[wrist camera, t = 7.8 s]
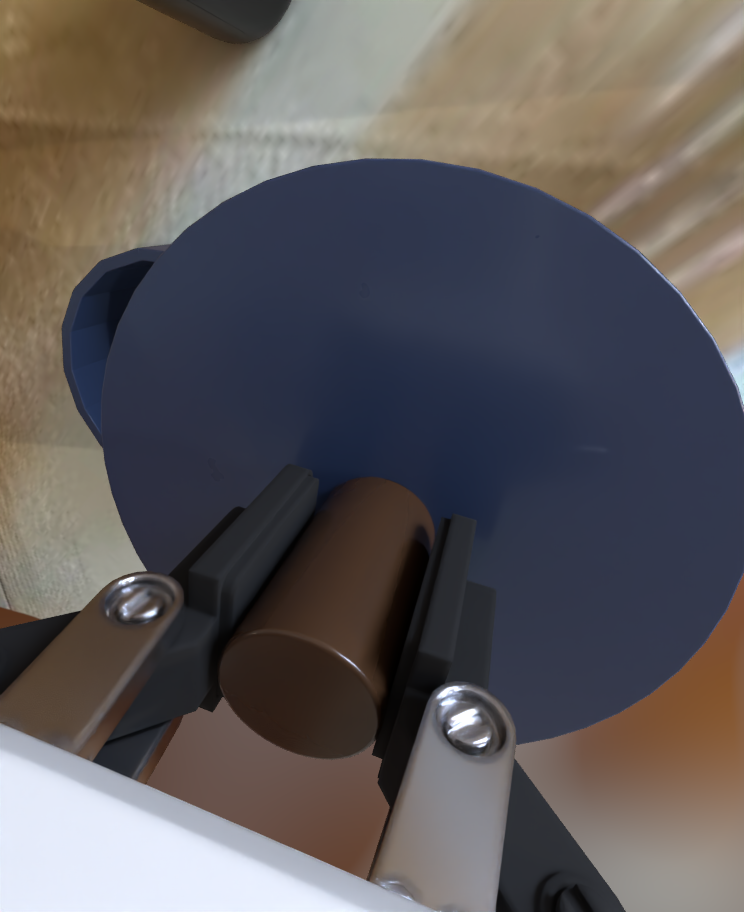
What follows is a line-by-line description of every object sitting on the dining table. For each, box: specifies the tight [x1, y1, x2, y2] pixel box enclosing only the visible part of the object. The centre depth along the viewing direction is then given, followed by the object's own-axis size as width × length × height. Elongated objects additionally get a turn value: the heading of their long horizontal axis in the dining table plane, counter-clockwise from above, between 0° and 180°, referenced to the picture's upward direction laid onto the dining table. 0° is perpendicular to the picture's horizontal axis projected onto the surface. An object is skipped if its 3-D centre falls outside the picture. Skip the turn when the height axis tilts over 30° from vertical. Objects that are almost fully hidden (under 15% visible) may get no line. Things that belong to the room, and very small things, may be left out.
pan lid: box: [101, 158, 744, 760], centre depth 11 cm, size 15×15×6 cm
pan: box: [62, 244, 171, 448], centre depth 31 cm, size 14×20×6 cm
